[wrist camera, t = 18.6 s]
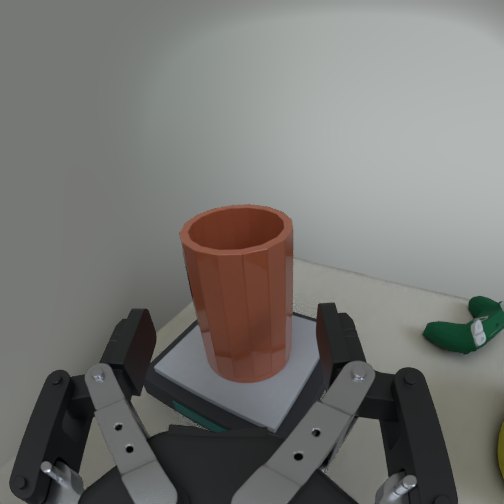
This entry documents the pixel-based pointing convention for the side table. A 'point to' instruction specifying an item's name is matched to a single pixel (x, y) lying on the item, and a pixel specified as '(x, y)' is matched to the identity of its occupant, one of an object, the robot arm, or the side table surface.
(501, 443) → the mug
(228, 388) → the scale
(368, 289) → the side table surface
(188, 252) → the cup
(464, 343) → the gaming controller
